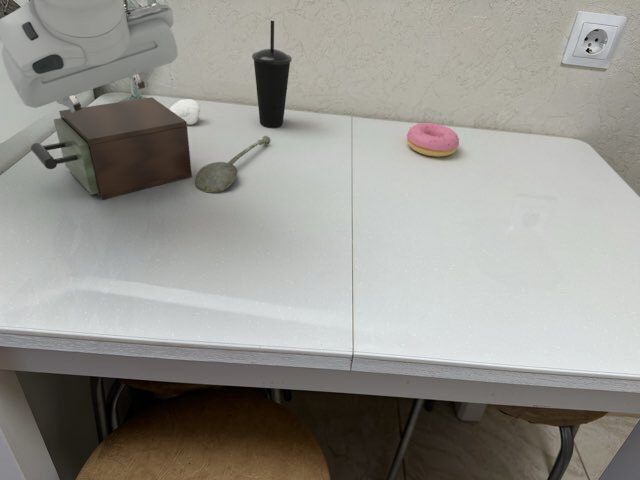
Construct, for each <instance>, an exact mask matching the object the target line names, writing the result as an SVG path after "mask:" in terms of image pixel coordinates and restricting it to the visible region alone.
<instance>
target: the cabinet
mask: <svg viewBox="0 0 640 480" xmlns="http://www.w3.org/2000/svg"><path fill="white" fill-rule="evenodd" d="M169 109H170V108H168V107H167V106H166V105H164V104H162V103H161V102H159V101H158V100H156V98H154V97H153V96H152V97H151V96H150V97H143V98H138V99H131V100H124V101H117V102H111V103H110V102H109V103H104V104H97V105H96V104H95V105H91V106H83V107H82V109H81V110H78V111H75V112H73V113H72V112H71V111H70V109H69V108H68V109H63V110H59V111H58V113H59V116H60V117H59V118H62V119H63V120H64V121H65V122H66V123H67V124H68V125H69V126H70V127H71V128H72V129H73V130H74V131H75V132H76V131H77V132H78V133H79V134H80V135H81V136H82V137H83V138H84V139H85V140H86V141H87V142H88V145H89V149H90V153H91V158H92V162H93V167H94V171H95V176H96V180H97V185H98V189H99V193H97V194H96V195H97V196H98V197H99V198H100V199H101V200H102V201H103V200H107V199H110V198H115V197H118V196H122V195H126V194H130V193H134V192H139V191H142V190H145V189H150V188H154V187H157V186H161V185H165V184H168V183H169V184H170V183H173V182H177V181H181V180H184V179H185V180H186V179H188V178H192V177H193V174H192V163H191V153H190V143H189V134H188V133H189V132H188V125H187V122H186V121H185V120H184V119H182V118H181V117H179V116H178V115H176V114H175V113H174V112H172V111H171V110H169Z"/></svg>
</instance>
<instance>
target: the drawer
mask: <svg viewBox="0 0 640 480" xmlns="http://www.w3.org/2000/svg"><path fill="white" fill-rule="evenodd" d="M53 124H54V128H55V131H56V135H57V139H58V142H57V143H51V144H46V145H42V144H41V143H39V142H35V143H33V144H32V145H31V146H30V149H31V150H30V151H31V152H32V153H33V155H35V157H36V158H37V159H38V160H39V161H40V163H41V164H42V165H43V167H45V168H46V169H47V170H54V169H56V168H57V166H58V165H59V164H63V163H64V166H65V167H66V169H68V170H69V172H70V173H71V174H72V175H73V176H74V177H75V179H76V180H77V181H78V182H79V183H80V184H81V185H82V186H83V187H84V189H85V190H86V191H87V192H88V193H89V194H90V195H98V194H97V193H99V189H98V185H97V180H96V176H95V171H94V167H93V162H92V158H91V153H90V149H89V145H88V142H87V141H86V140H85V139H84V138H83V137H82V136H81V135H80V134H79V133H78V132H77V131H76V132H75V131H74V130H73V129H72V128H71V127H70V126H69V125H68V124H67V123H66V122H65V121H64V120H63V119H62V118H61V117H59V118H54V119H53ZM58 149H60V151H61V154H62V157H57V158H54V157H53V156H52V154H51V153H50V152H49V151H52V150H58Z"/></svg>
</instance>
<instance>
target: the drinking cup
mask: <svg viewBox="0 0 640 480" xmlns="http://www.w3.org/2000/svg"><path fill="white" fill-rule="evenodd" d="M269 42H270V43H269V45H270V46H269V48H265V49H261V50H258V51H256V52H253V53H252V54H251V58H252V60H253V65H254V66H253V67H254V77H255V86H256V96H257V107H258V108H257V109H258V116H259V117H258V118H259V124H260V125H261V126H262V127H265V128H271V129H275V128H280V127H282V126H283V125H284V118H285V110H286V109H285V108H286V101H287V92H288V85H289V84H288V83H289V82H288V81H289V77H290V75H289V74H290V67H291V66H290V65H291V63H292V60H293V58H292V56H291V55H289V54H287V53H286V52H284V51H282V50H280V49H275V20H270V41H269Z"/></svg>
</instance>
